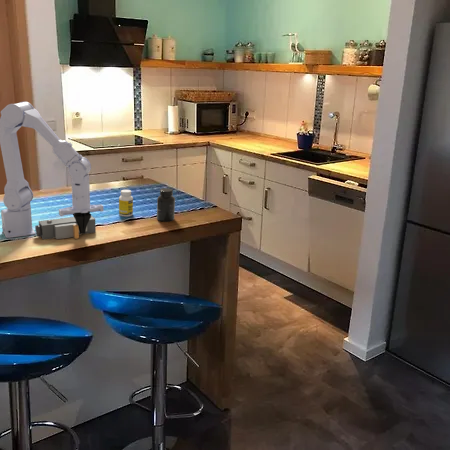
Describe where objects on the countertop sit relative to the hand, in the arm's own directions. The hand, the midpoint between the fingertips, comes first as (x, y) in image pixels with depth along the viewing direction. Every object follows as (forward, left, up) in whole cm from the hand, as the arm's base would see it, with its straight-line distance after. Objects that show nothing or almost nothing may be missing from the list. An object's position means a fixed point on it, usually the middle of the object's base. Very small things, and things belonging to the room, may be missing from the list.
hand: (82, 233), depth 171 cm
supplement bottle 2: (+35, +7, -2) cm, 35 cm away
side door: (-5, +1, -1) cm, 5 cm away
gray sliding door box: (-3, +6, -2) cm, 7 cm away
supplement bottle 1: (+23, +18, -2) cm, 29 cm away
